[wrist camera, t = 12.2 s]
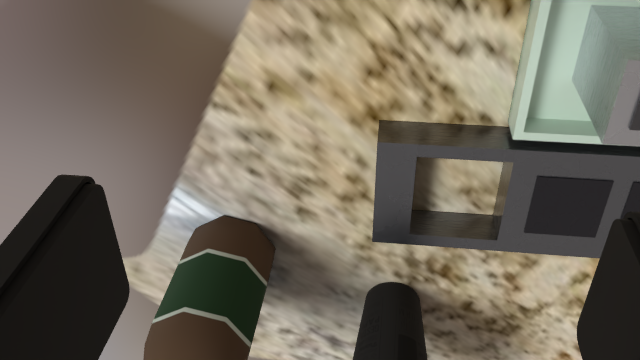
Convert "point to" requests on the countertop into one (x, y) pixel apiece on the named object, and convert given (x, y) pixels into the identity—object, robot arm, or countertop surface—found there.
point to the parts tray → (553, 74)
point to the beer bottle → (213, 295)
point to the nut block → (611, 73)
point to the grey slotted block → (507, 190)
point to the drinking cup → (391, 325)
